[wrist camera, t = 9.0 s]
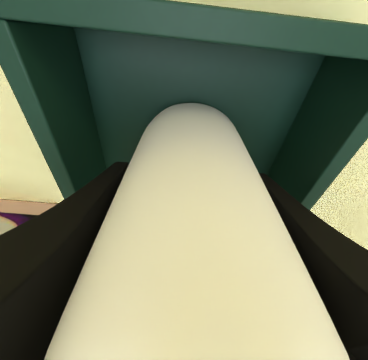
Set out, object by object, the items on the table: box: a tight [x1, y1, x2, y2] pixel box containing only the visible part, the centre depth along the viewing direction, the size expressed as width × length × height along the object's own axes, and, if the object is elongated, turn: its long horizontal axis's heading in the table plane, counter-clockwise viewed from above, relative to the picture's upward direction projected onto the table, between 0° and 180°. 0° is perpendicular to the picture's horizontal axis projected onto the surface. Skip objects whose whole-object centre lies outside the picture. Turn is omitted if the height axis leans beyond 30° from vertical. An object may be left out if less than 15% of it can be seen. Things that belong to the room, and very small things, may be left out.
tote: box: [0, 0, 368, 210], centre depth 11 cm, size 14×14×5 cm
